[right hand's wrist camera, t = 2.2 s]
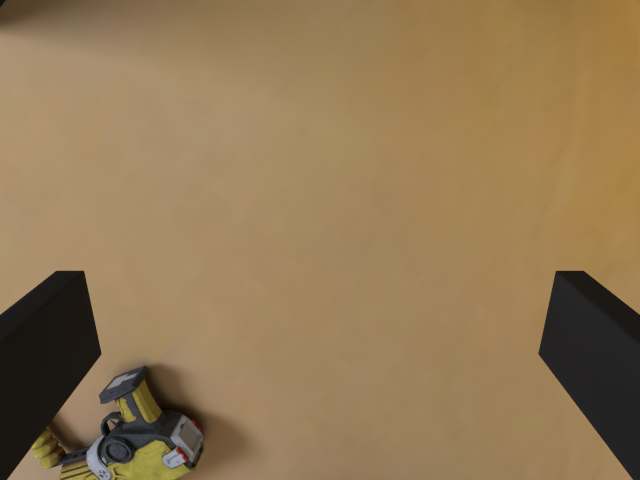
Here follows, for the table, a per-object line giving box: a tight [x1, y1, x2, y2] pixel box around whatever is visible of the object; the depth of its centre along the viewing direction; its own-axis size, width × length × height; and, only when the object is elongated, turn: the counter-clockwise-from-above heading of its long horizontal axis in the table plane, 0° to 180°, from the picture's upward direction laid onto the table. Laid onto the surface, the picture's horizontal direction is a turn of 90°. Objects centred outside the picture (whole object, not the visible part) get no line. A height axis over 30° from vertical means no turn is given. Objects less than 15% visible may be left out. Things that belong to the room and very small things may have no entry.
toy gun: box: [31, 366, 204, 480], centre depth 49 cm, size 5×24×15 cm
